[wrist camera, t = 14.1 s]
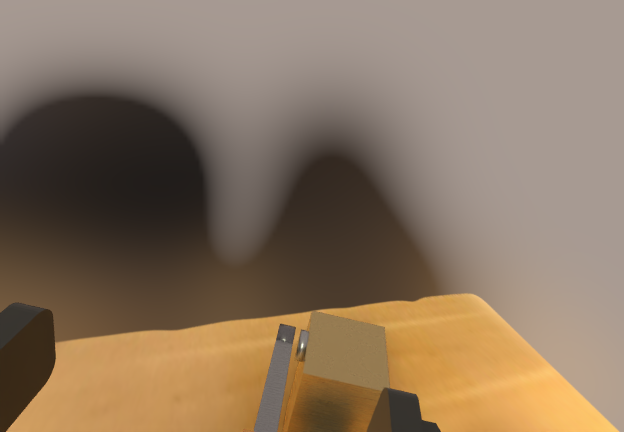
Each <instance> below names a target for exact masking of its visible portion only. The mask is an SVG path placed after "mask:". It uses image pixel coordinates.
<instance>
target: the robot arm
mask: <svg viewBox="0 0 624 432" xmlns="http://www.w3.org/2000/svg"><path fill="white" fill-rule="evenodd" d="M55 359H56V354H55V340H54V325H53V314H52V312H51V311H50V310H48V309H44V308H39V307H35V306H30V305H26V304H22V303H13V304H11V305H9V306H8V307H7V308H6V309H5V310H3V311H2V312H1V313H0V432H6V431H7V429H8V428H9V427H10V426H11V425H12V423H13V422H14V421H15V420H16V419H17V417H18V416H19V415H20V414H21V413H22V411H23V410H24V409H25V408H26V407H27V405H28V404H29V403H30V402H31V401H32V399H33V398H34V397H35V396H36V395H37V393H38V392H39V391H40V390H41V389H42V387H43V386H44V385H45V384H46V382H47V381H48V379H49V377H50V375H51V373H52V371H53V368H54V365H55ZM367 432H441V431H440V429H439V428H438V426H437V424H436V423H432V422H428V421H423V420H422V419H421V412H420V406H419V400H418V397H417V395H416V394H412V393H408V392H404V391H399V390H395V389H390V388H386V387H385V388H384V389H383V390H382V392H381V395H380V397H379V400H378V403H377V405H376V408H375V410H374V413H373V415H372V418H371V421H370V423H369V426H368V428H367Z"/></svg>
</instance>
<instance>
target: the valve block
mask: <svg viewBox="0 0 624 432" xmlns="http://www.w3.org/2000/svg"><path fill="white" fill-rule="evenodd" d="M295 361H299V363H298V367H297V370H296V374H295V378H294V382H293V386H292V390H291V393H290V397H289V401H288V405H287V410H286V415H285V421H284V427H283V432H367V428H368V426H369V423H370V421H371V418H372V415H373V413H374V410H375V408H376V405H377V403H378V400H379V397H380V395H381V392H382V390H383V389H384V388H385V387H386V388H390V383H389V372H388V361H387V350H386V339H385V327H381V326H377V325H373V324H368V323H364V322H359V321H355V320H351V319H346V318H342V317H338V316H333V315H329V314H324V313H320V312H316V311H312V313H311V317H310V321H309V324H308V328H307V331H306V330H301V332H300V336H299V340H298V345H297V349H296V354H295Z"/></svg>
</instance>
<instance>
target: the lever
mask: <svg viewBox="0 0 624 432" xmlns="http://www.w3.org/2000/svg"><path fill="white" fill-rule="evenodd" d="M295 329H296V327H293V326H288V325H284V324H280V326H279V330H278V335H277V339H276V343H275V347H274V351H273V355H272V359H271V363H270V367H269V371H268V375H267V379H266V383H265V387H264V392H263V396H262V400H261V404H260V408H259V412H258V416H257V420H256V424H255V428H254V431H250V430H246V429H243V432H277V430H278V424H279V418H280V413H281V407H282V401H283V396H284V390H285V384H286V378H287V373H288V367H289V361H290V356H291V350H292V344H293V339H294V335H295Z"/></svg>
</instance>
